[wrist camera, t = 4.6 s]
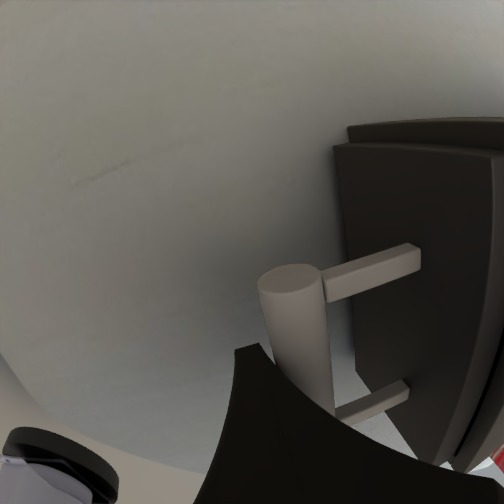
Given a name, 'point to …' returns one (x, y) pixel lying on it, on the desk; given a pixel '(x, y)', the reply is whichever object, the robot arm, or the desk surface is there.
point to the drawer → (404, 291)
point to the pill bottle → (499, 457)
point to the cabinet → (500, 390)
